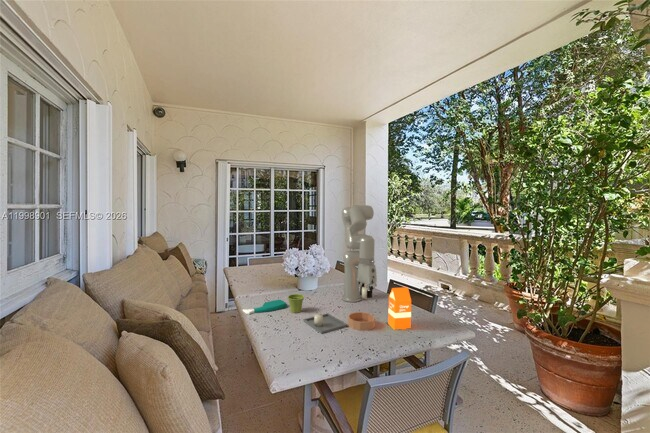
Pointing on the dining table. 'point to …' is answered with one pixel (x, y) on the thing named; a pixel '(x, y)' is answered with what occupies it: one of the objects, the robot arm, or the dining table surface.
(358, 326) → the bowl
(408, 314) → the orange juice
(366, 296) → the pebble
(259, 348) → the dining table surface
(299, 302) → the plant pot
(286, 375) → the dining table surface
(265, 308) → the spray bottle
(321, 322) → the pebble
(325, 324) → the parts tray
